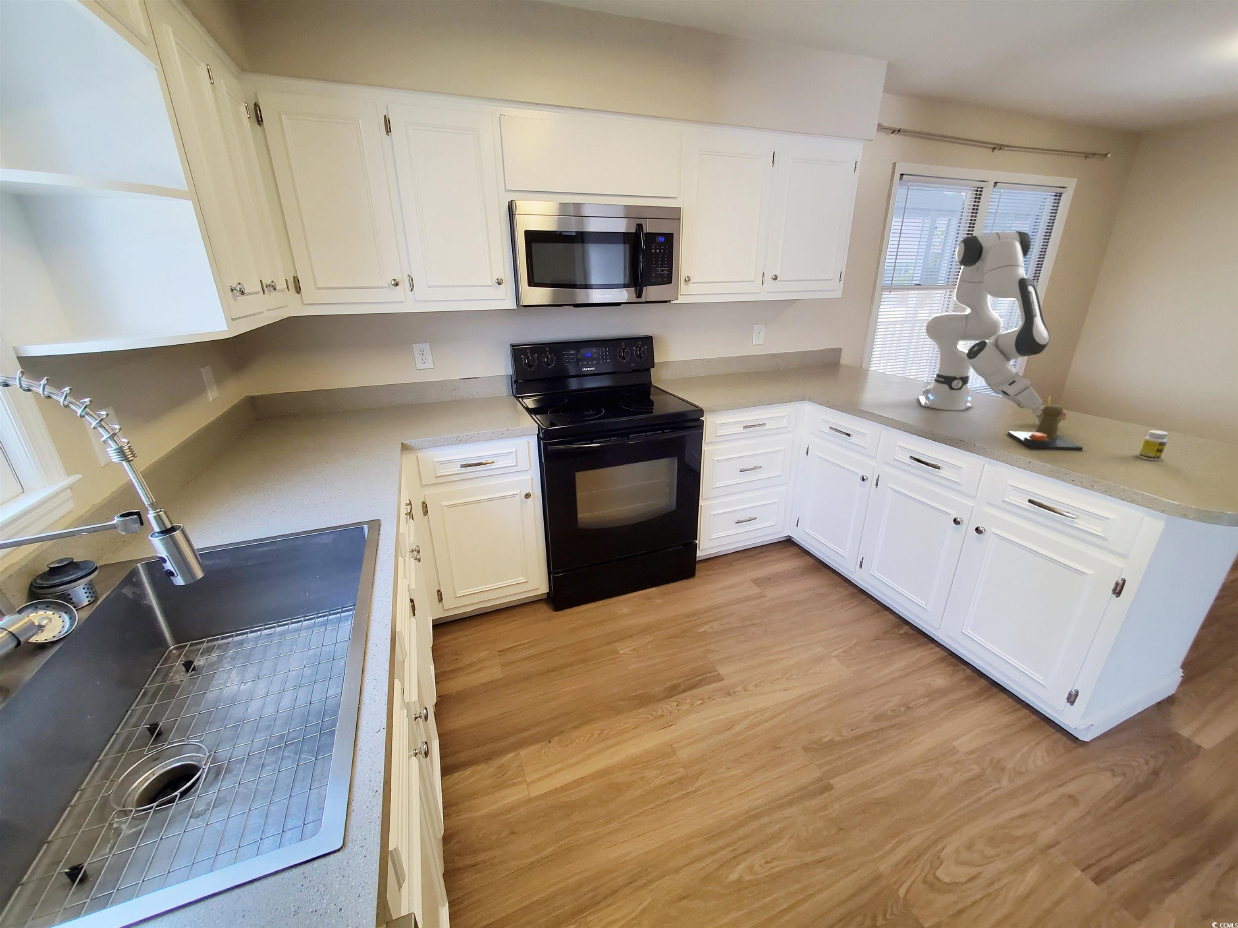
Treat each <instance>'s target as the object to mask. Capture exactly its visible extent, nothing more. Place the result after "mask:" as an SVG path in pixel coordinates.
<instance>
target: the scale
mask: <svg viewBox="0 0 1238 928" xmlns="http://www.w3.org/2000/svg"><path fill="white" fill-rule="evenodd" d="M1034 432H1035V431H1008V432H1007V435H1008V436H1009V437H1011V438H1013V439H1014V440H1017V441H1018V442H1020V443H1021V444H1023V445H1024V446H1026V447H1027V448H1029V449H1031V450H1044V451H1045V450H1046V451H1047V450H1048V451H1049V450H1050V451H1078V452H1079V451H1082V450H1083V446H1081V445H1079V444H1077V443H1075V442H1073V441H1072V440H1069V439H1067V438H1065V437H1063V436H1062V435H1060V434H1057V438H1056V439H1050V438H1048V437H1046V440H1034V439H1031V438H1030V437H1031V433H1034Z"/></svg>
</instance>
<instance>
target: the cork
mask: <svg viewBox="0 0 1238 928" xmlns="http://www.w3.org/2000/svg"><path fill="white" fill-rule="evenodd" d="M1042 409H1043V414H1044V415H1043V417H1042V419H1041V421H1040V423H1039V422H1038V426H1037V428H1036V429H1035V432H1037V433H1044V434H1046V435H1047V437H1048V438H1050V439H1056V438H1057V435H1058V428H1059V424H1058V421H1059V416H1060V415H1061V414H1062V412H1064V408H1063V407H1062V406H1061V405H1057V404H1050V405H1048V404H1047V405H1045V406H1044V407H1043V408H1042Z"/></svg>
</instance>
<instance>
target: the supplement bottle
mask: <svg viewBox="0 0 1238 928" xmlns="http://www.w3.org/2000/svg"><path fill="white" fill-rule="evenodd" d="M1168 436H1169V433H1168V432H1166V431H1163V430H1158V429H1157V430H1154V429H1151V430H1149V431H1148V434H1147V436H1145V437H1144V440H1143V442H1142V445H1141V448H1140V450H1139V453H1138V457H1139V458H1140V459H1144V460H1148V461H1160V460H1161V458H1162V456H1163V454H1164V451H1165V449H1166V445H1167V443H1168V439H1167V438H1168Z"/></svg>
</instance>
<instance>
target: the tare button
mask: <svg viewBox="0 0 1238 928" xmlns="http://www.w3.org/2000/svg"><path fill="white" fill-rule="evenodd" d="M1033 432H1034V433H1031V437H1030V438H1031V439H1034V440H1046V437H1047V435H1046V434H1044V433H1037V432H1036V431H1033Z"/></svg>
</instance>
